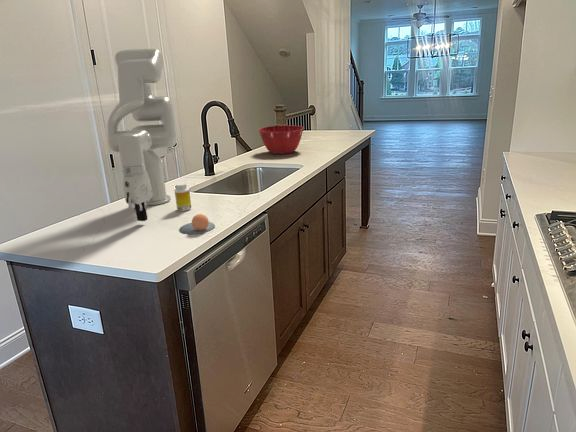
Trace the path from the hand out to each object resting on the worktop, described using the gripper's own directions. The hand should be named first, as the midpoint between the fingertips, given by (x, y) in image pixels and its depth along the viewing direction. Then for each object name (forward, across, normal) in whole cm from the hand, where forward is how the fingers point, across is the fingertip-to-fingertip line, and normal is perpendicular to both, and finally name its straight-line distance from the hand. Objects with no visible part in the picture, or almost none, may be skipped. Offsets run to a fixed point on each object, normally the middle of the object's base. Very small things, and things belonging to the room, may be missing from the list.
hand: (142, 220), depth 157 cm
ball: (-1, -2, -25) cm, 25 cm away
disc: (+2, 0, -22) cm, 22 cm away
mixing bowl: (+2, +139, -4) cm, 139 cm away
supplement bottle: (+2, +19, -6) cm, 20 cm away
